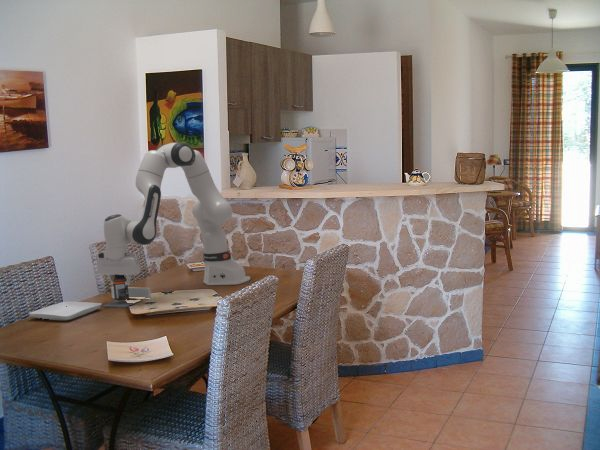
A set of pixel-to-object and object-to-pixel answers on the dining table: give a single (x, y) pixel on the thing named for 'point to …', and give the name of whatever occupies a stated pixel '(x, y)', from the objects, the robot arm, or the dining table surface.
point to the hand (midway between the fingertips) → (120, 284)
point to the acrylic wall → (135, 292)
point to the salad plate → (65, 310)
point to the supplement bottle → (120, 288)
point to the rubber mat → (117, 304)
